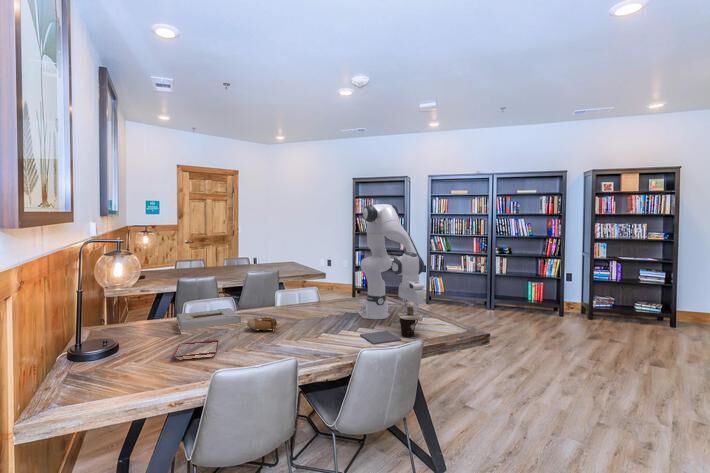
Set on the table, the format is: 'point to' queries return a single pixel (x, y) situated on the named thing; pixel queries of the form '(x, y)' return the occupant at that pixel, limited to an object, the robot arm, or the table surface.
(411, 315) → the lid
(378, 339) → the mat
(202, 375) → the table surface
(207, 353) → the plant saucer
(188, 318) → the box
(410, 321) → the coffee mug
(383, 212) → the robot arm
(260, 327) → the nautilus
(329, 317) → the table surface
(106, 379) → the table surface
